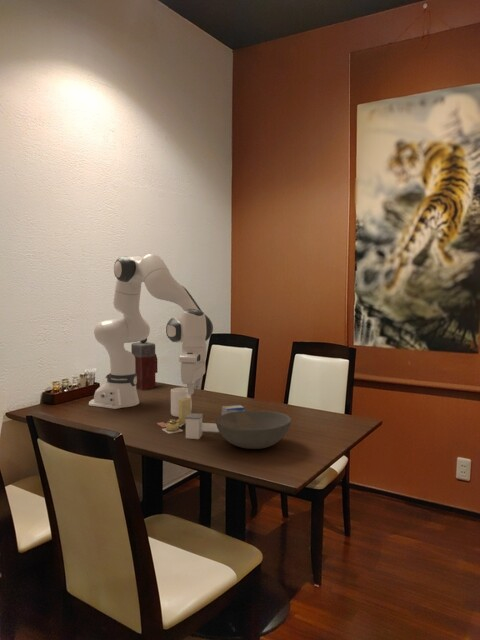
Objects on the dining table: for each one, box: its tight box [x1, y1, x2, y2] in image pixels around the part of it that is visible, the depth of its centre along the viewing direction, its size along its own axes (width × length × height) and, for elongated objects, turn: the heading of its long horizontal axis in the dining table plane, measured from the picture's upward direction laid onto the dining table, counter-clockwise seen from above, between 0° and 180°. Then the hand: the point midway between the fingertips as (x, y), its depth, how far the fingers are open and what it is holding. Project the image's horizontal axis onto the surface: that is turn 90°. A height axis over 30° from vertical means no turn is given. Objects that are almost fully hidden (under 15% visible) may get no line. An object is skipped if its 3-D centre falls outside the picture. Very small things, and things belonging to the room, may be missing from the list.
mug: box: [170, 387, 193, 418], centre depth 219 cm, size 9×12×11 cm
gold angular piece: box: [165, 397, 192, 431], centre depth 202 cm, size 14×5×10 cm, turn 150°
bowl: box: [215, 409, 292, 450], centre depth 182 cm, size 26×26×10 cm
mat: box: [202, 422, 220, 434], centre depth 202 cm, size 10×10×1 cm
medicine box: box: [221, 404, 246, 416], centre depth 201 cm, size 8×4×9 cm, turn 118°
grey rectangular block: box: [185, 412, 204, 440], centre depth 191 cm, size 5×5×8 cm
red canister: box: [130, 338, 159, 391], centre depth 269 cm, size 9×11×28 cm
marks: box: [156, 421, 186, 435], centre depth 202 cm, size 13×15×1 cm
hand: (194, 391), depth 190 cm, fingers open, 7 cm apart
